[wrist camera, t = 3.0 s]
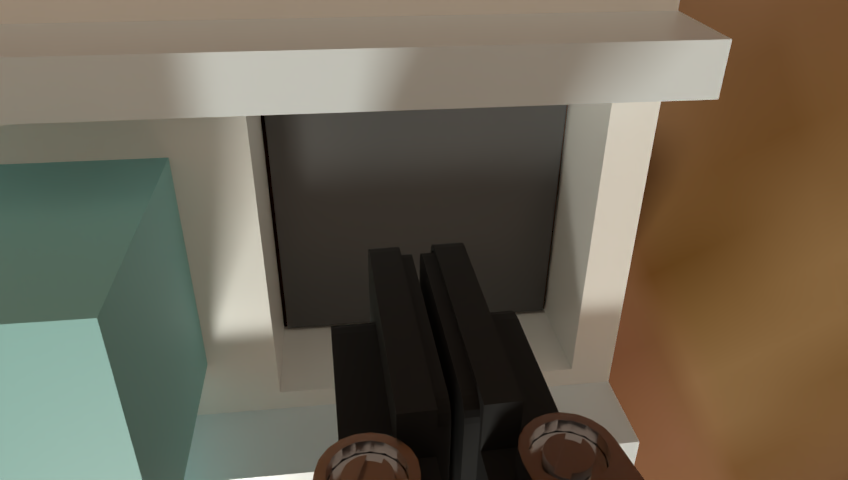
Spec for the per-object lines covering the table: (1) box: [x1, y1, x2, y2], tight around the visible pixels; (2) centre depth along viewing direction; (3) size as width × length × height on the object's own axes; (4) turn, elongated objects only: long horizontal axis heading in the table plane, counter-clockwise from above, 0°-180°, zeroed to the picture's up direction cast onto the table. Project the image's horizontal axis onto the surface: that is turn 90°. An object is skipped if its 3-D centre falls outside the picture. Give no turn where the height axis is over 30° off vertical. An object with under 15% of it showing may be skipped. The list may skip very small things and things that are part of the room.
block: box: [0, 158, 207, 480], centre depth 12 cm, size 5×5×5 cm
